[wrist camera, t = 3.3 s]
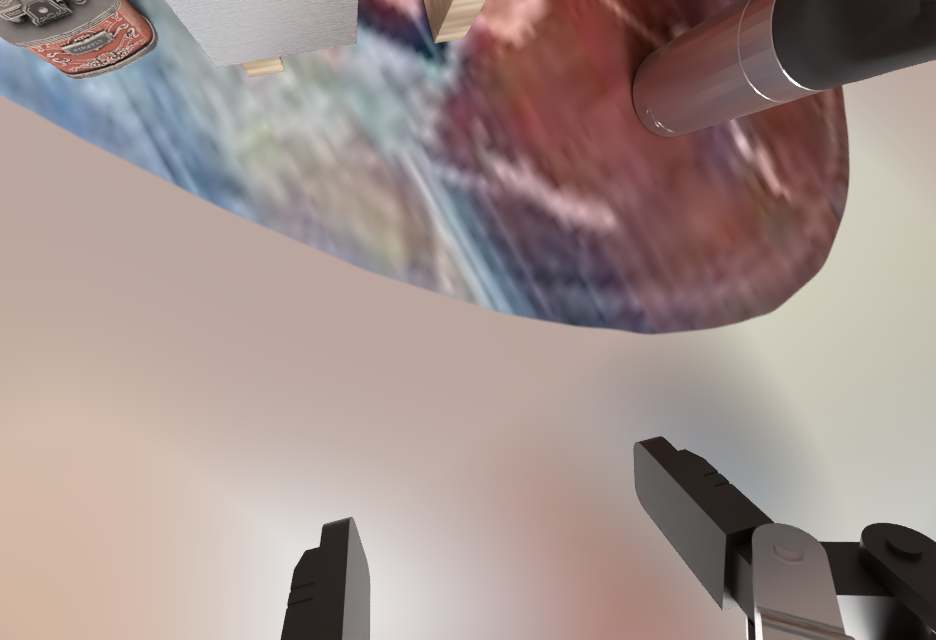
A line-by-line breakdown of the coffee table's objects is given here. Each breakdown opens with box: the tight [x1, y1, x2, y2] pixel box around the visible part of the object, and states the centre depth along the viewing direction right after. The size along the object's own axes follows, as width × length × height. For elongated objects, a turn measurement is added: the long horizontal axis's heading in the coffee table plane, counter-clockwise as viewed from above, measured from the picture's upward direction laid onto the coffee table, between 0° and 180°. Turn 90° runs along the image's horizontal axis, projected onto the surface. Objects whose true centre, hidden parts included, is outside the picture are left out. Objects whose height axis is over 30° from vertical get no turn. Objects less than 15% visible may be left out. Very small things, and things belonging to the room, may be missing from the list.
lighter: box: [0, 0, 158, 79], centre depth 34 cm, size 8×3×10 cm, turn 116°
